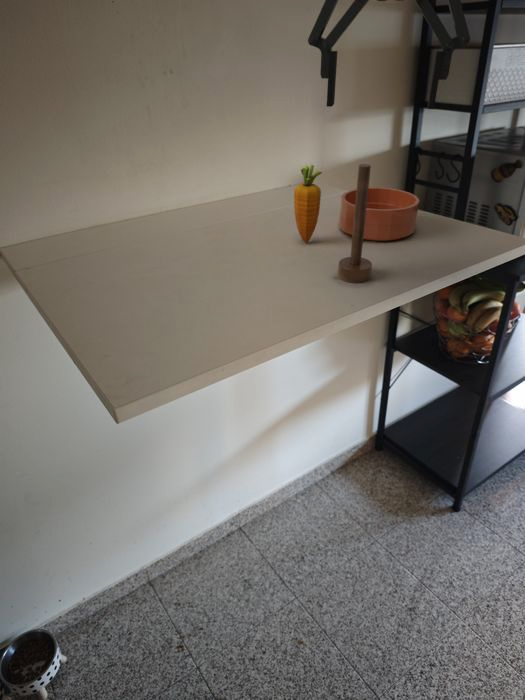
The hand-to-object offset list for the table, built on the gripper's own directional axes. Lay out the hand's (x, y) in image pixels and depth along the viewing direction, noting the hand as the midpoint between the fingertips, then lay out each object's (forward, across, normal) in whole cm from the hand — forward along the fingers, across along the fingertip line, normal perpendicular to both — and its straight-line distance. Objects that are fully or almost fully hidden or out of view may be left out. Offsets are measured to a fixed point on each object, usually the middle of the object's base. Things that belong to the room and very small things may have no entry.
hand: (379, 106), depth 69 cm
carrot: (+27, +12, -15) cm, 33 cm away
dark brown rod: (+27, +1, -2) cm, 27 cm away
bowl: (+27, -1, -26) cm, 37 cm away
